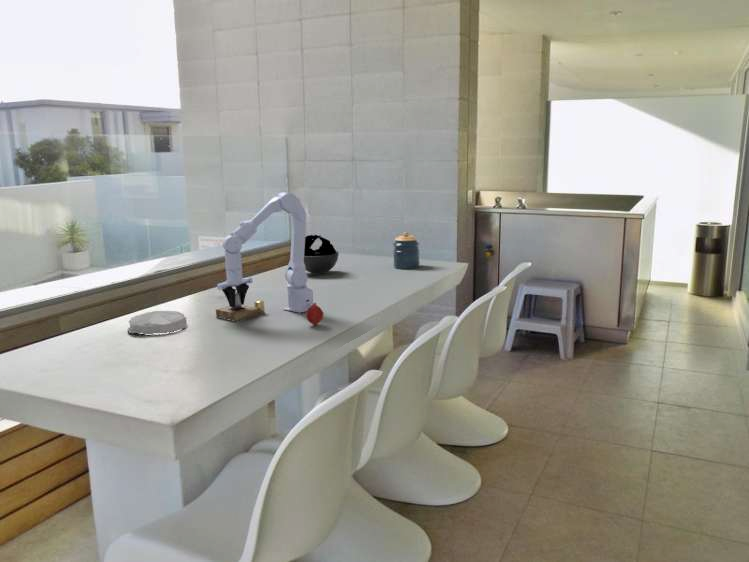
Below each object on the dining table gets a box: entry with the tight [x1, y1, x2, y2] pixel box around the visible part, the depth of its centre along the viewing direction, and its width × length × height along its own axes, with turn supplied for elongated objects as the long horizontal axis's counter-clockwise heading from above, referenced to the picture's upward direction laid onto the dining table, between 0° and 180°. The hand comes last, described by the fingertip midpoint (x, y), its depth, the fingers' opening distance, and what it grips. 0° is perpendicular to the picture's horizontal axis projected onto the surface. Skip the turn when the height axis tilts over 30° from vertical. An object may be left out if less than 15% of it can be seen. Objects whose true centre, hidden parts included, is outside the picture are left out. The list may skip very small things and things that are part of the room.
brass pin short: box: [253, 300, 266, 315], centre depth 245 cm, size 4×4×4 cm
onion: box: [305, 302, 324, 326], centre depth 225 cm, size 6×6×8 cm
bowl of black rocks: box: [304, 234, 340, 275], centre depth 317 cm, size 20×20×19 cm
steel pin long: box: [232, 291, 242, 311], centre depth 241 cm, size 4×4×8 cm
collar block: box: [215, 304, 260, 322], centre depth 241 cm, size 12×10×3 cm
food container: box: [127, 310, 189, 335], centre depth 229 cm, size 20×20×7 cm
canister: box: [392, 231, 420, 270], centre depth 327 cm, size 13×13×18 cm
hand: (236, 305), depth 241 cm, fingers closed on steel pin long, 4 cm apart
